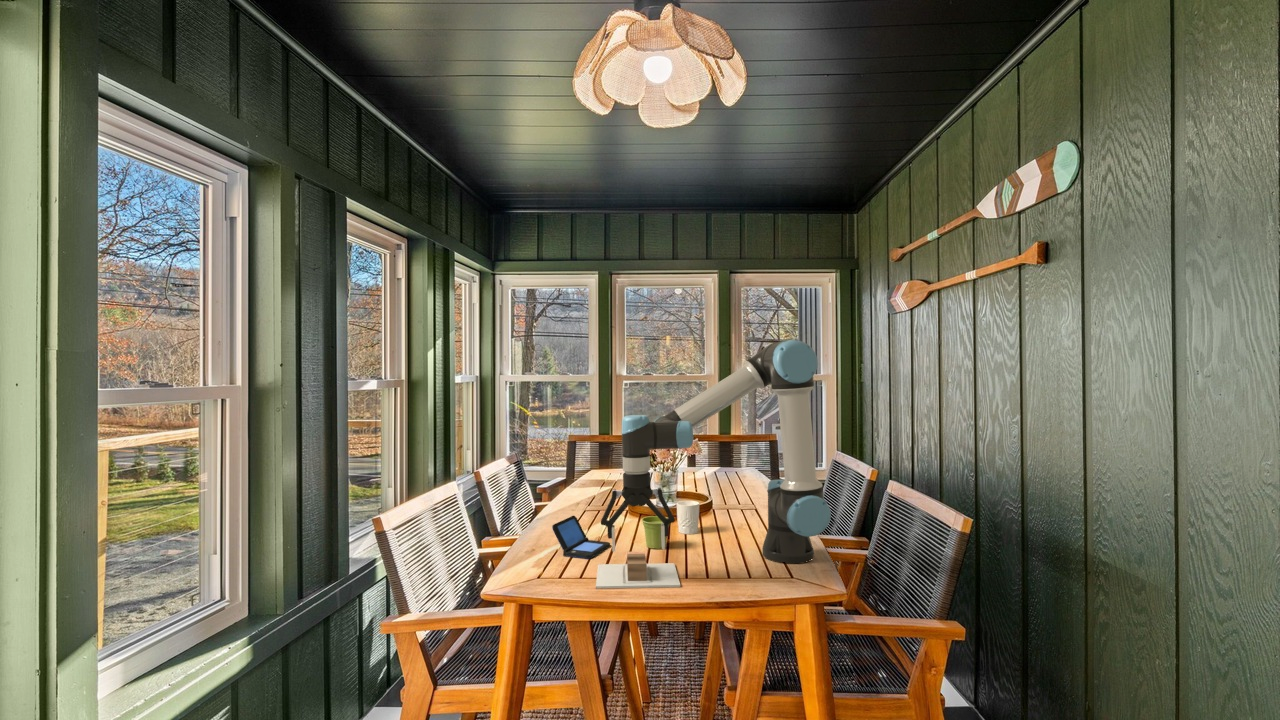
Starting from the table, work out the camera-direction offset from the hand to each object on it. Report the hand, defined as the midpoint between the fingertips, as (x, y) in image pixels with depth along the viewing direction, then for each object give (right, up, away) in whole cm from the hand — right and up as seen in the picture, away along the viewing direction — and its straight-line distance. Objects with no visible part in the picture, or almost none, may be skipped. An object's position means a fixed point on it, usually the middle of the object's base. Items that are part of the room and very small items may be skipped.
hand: (638, 549), depth 175 cm
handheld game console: (-18, -8, +25) cm, 31 cm away
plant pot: (+6, -8, +28) cm, 30 cm away
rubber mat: (0, -7, 0) cm, 7 cm away
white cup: (+17, -8, +46) cm, 49 cm away
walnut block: (-1, -7, 0) cm, 7 cm away
